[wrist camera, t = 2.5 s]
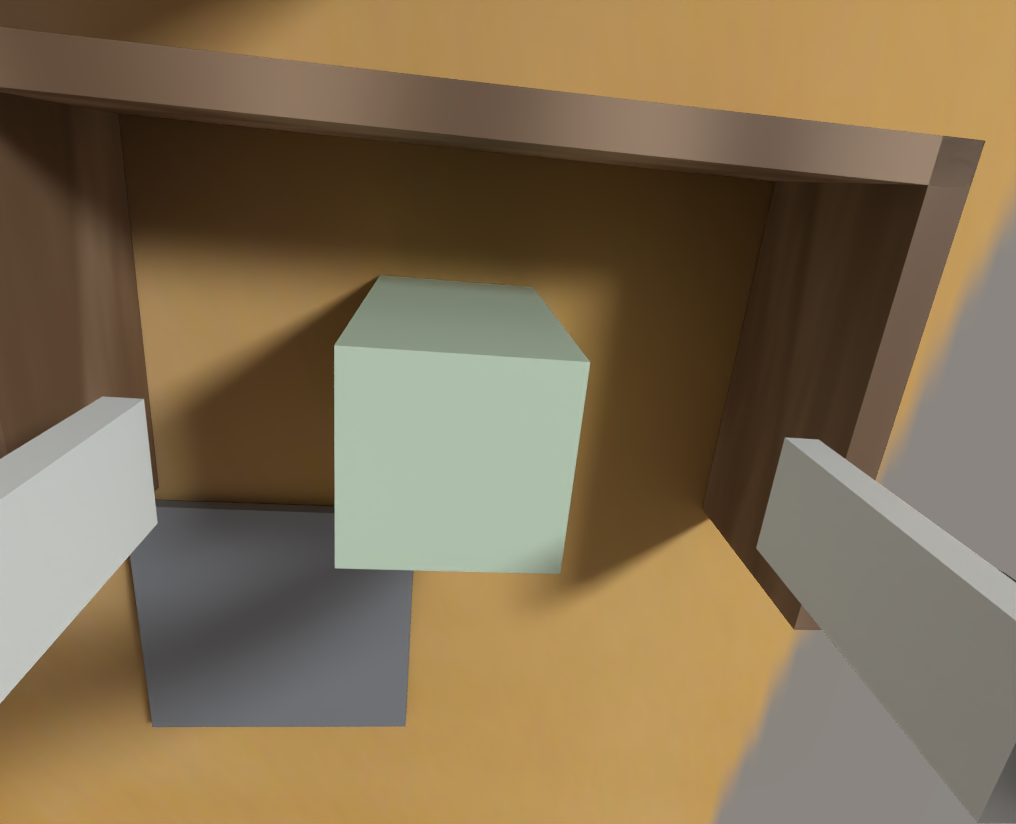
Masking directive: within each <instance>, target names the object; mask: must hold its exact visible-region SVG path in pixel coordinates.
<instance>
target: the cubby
mask: <svg viewBox="0 0 1016 824" xmlns="http://www.w3.org/2000/svg"><path fill="white" fill-rule="evenodd" d="M118 114H128V115H137V116H147V117H157V118H166V119H176V120H186V121H196V122H205V123H215V124H225V125H234V126H244V127H254V128H263V129H273V130H283V131H293V132H302V133H312V134H322V135H331V136H341V137H351V138H360V139H370V140H380V141H389V142H399V143H409V144H419V145H428V146H438V147H448V148H457V149H467V150H477V151H486V152H496V153H506V154H516V155H525V156H535V157H545V158H554V159H564V160H574V161H583V162H593V163H603V164H612V165H622V166H632V167H642V168H651V169H661V170H671V171H680V172H690V173H700V174H709V175H719V176H729V177H739V178H748V179H758V180H768V181H775V185H774V189H773V194H772V198H771V203H770V207H769V212H768V216H767V220H766V225H765V229H764V234H763V238H762V243H761V247H760V252H759V256H758V261H757V265H756V270H755V274H754V279H753V283H752V288H751V292H750V297H749V301H748V306H747V310H746V314H745V319H744V323H743V328H742V332H741V337H740V341H739V346H738V350H737V355H736V359H735V364H734V368H733V373H732V377H731V382H730V386H729V391H728V395H727V399H726V404H725V408H724V413H723V417H722V422H721V426H720V431H719V435H718V440H717V444H716V449H715V453H714V458H713V462H712V467H711V471H710V476H709V480H708V485H707V489H706V493H705V498H704V502H703V507H702V509H703V510H704V512H705V513H706V514H707V516H708V517H709V518H710V520H711V521H712V522H713V524H714V525H715V526H716V528H717V529H718V530H719V531H720V533H721V534H722V535H723V537H724V538H725V539H726V541H727V542H728V543H729V545H730V546H731V547H732V549H733V550H734V551H735V553H736V554H737V555H738V556H739V558H740V559H741V560H742V562H743V563H744V564H745V566H746V567H747V568H748V570H749V571H750V572H751V574H752V575H753V576H754V578H755V579H756V580H757V581H758V583H759V584H760V585H761V587H762V588H763V589H764V591H765V592H766V593H767V595H768V596H769V597H770V599H771V600H772V601H773V603H774V604H775V605H776V606H777V608H778V609H779V610H780V612H781V613H782V614H783V616H784V617H785V618H786V620H787V621H788V622H789V624H790V625H791V626H792V628H793V629H794V630H822V629H821V628H820V627H819V626H818V624H817V623H816V622H815V621H814V619H813V618H812V617H811V616H810V614H809V613H808V612H807V611H806V610H805V608H804V607H803V606H802V605H801V603H800V602H799V601H798V600H797V598H796V597H795V596H794V595H793V593H792V592H791V591H790V590H789V588H788V587H787V586H786V585H785V583H784V582H783V581H782V580H781V578H780V577H779V576H778V575H777V573H776V572H775V571H774V570H773V569H772V567H771V566H770V565H769V564H768V562H767V561H766V560H765V559H764V557H763V556H762V555H761V554H760V552H759V551H758V550H757V549H756V547H757V543H758V539H759V535H760V532H761V528H762V524H763V520H764V516H765V512H766V508H767V505H768V501H769V497H770V493H771V489H772V485H773V481H774V478H775V474H776V470H777V466H778V462H779V458H780V454H781V451H782V447H783V443H784V439H785V438H802V439H818V440H820V441H821V442H823V443H824V444H825V445H827V446H828V447H830V448H831V449H832V450H834V451H835V452H836V453H838V454H839V455H841V456H842V457H843V458H845V459H846V460H847V461H849V462H850V463H852V464H853V465H854V466H856V467H857V468H858V469H860V470H861V471H863V472H864V473H865V474H867V475H868V476H869V477H871V478H872V479H874V480H876V476H877V473H878V470H879V467H880V464H881V461H882V458H883V455H884V452H885V449H886V446H887V443H888V439H889V436H890V433H891V430H892V427H893V424H894V421H895V418H896V415H897V412H898V409H899V406H900V402H901V399H902V396H903V393H904V390H905V387H906V384H907V381H908V378H909V375H910V372H911V368H912V365H913V362H914V359H915V356H916V353H917V350H918V347H919V344H920V341H921V338H922V335H923V331H924V328H925V325H926V322H927V319H928V316H929V313H930V310H931V307H932V304H933V301H934V298H935V294H936V291H937V288H938V285H939V282H940V279H941V276H942V273H943V270H944V267H945V264H946V260H947V257H948V254H949V251H950V248H951V245H952V242H953V239H954V236H955V233H956V230H957V227H958V223H959V220H960V217H961V214H962V211H963V208H964V205H965V202H966V199H967V196H968V193H969V190H970V186H971V183H972V180H973V177H974V174H975V171H976V168H977V165H978V162H979V159H980V156H981V153H982V149H983V146H984V143H985V141H983V140H975V139H966V138H957V137H949V136H940V135H931V134H923V133H914V132H906V131H897V130H888V129H880V128H871V127H862V126H854V125H845V124H836V123H828V122H819V121H811V120H802V119H793V118H785V117H776V116H767V115H759V114H750V113H741V112H733V111H724V110H715V109H707V108H698V107H690V106H681V105H672V104H664V103H655V102H646V101H638V100H629V99H620V98H612V97H603V96H594V95H586V94H577V93H569V92H560V91H551V90H543V89H534V88H525V87H517V86H508V85H499V84H491V83H482V82H473V81H465V80H456V79H448V78H439V77H430V76H422V75H413V74H404V73H396V72H387V71H378V70H370V69H361V68H353V67H344V66H335V65H327V64H318V63H309V62H301V61H292V60H283V59H275V58H266V57H257V56H249V55H240V54H232V53H223V52H214V51H206V50H197V49H188V48H180V47H171V46H162V45H154V44H145V43H136V42H128V41H119V40H111V39H102V38H93V37H85V36H76V35H67V34H59V33H50V32H41V31H33V30H24V29H15V28H7V27H0V459H1V458H3V457H4V456H6V455H7V454H9V453H11V452H12V451H14V450H16V449H17V448H19V447H21V446H22V445H24V444H25V443H27V442H29V441H30V440H32V439H34V438H35V437H37V436H39V435H40V434H42V433H43V432H45V431H47V430H48V429H50V428H52V427H53V426H55V425H57V424H58V423H60V422H61V421H63V420H65V419H66V418H68V417H70V416H71V415H73V414H75V413H76V412H78V411H79V410H81V409H83V408H84V407H86V406H88V405H89V404H91V403H93V402H94V401H96V400H97V399H99V398H101V397H102V396H103V397H120V398H136V399H144V403H145V413H146V422H147V431H148V440H149V449H150V459H151V468H152V477H153V486H154V492H155V491H156V490H157V489H158V488H159V486H158V477H157V468H156V458H155V449H154V440H153V431H152V422H151V412H150V403H149V394H148V385H147V376H146V366H145V357H144V348H143V339H142V330H141V321H140V311H139V302H138V293H137V284H136V275H135V265H134V256H133V247H132V238H131V229H130V219H129V210H128V201H127V192H126V183H125V173H124V164H123V155H122V146H121V137H120V127H119V118H118Z"/></svg>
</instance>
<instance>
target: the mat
mask: <svg viewBox="0 0 1016 824" xmlns="http://www.w3.org/2000/svg"><path fill="white" fill-rule="evenodd" d="M155 505H156V514H157V525H156V526H155V527H154V528H153V529H152V530H151V531H150V533H149V534H148V535H147V536H146V537H145V538H144V539H143V541H142V542H141V543H140V544H139V545H138V546H137V547H136V549H135V550H134V551H133V552H132V553H131V554H130V560H131V568H132V575H133V583H134V590H135V598H136V606H137V613H138V621H139V628H140V636H141V644H142V651H143V659H144V666H145V674H146V682H147V689H148V697H149V704H150V712H151V720H152V727H362V726H405V724H406V708H407V687H408V666H409V645H410V624H411V603H412V582H413V570H381V569H342V568H335V506H310V505H282V504H255V503H228V502H201V501H174V500H155Z"/></svg>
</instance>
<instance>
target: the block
mask: <svg viewBox="0 0 1016 824" xmlns="http://www.w3.org/2000/svg"><path fill="white" fill-rule="evenodd" d="M589 368H590V361H589V360H588V358H587V357H586V356H585V355H584V353H583V352H582V351H581V349H580V348H579V347H578V345H577V344H576V343H575V341H574V340H573V339H572V337H571V336H570V335H569V333H568V332H567V331H566V330H565V328H564V327H563V326H562V324H561V323H560V322H559V320H558V319H557V318H556V316H555V315H554V314H553V312H552V311H551V310H550V308H549V307H548V306H547V305H546V303H545V302H544V301H543V299H542V298H541V297H540V295H539V294H538V293H537V291H536V290H535V289H534V287H528V286H515V285H502V284H490V283H477V282H464V281H452V280H439V279H426V278H414V277H401V276H388V275H380V276H379V278H378V279H377V281H376V282H375V284H374V285H373V287H372V288H371V290H370V291H369V293H368V294H367V296H366V298H365V299H364V301H363V302H362V304H361V305H360V307H359V308H358V310H357V311H356V313H355V314H354V316H353V317H352V319H351V321H350V322H349V324H348V325H347V327H346V328H345V330H344V331H343V333H342V334H341V336H340V337H339V339H338V340H337V342H336V343H335V345H334V468H335V568H342V569H381V570H420V571H459V572H499V573H538V574H560V572H561V565H562V558H563V551H564V544H565V537H566V530H567V523H568V516H569V509H570V502H571V495H572V488H573V481H574V474H575V466H576V459H577V452H578V445H579V438H580V431H581V424H582V417H583V410H584V403H585V396H586V389H587V382H588V375H589Z"/></svg>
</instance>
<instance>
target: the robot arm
mask: <svg viewBox="0 0 1016 824" xmlns="http://www.w3.org/2000/svg"><path fill="white" fill-rule="evenodd" d="M156 525H157V514H156V505H155V495H154V486H153V477H152V468H151V459H150V449H149V440H148V431H147V422H146V413H145V403H144V399H136V398H120V397H103V396H102V397H101V398H99V399H97V400H96V401H94V402H93V403H91V404H89V405H88V406H86V407H84V408H83V409H81V410H79V411H78V412H76V413H75V414H73V415H71V416H70V417H68V418H66V419H65V420H63V421H61V422H60V423H58V424H57V425H55V426H53V427H52V428H50V429H48V430H47V431H45V432H43V433H42V434H40V435H39V436H37V437H35V438H34V439H32V440H30V441H29V442H27V443H25V444H24V445H22V446H21V447H19V448H17V449H16V450H14V451H12V452H11V453H9V454H7V455H6V456H4V457H3V458H1V459H0V703H1V702H2V701H3V700H4V699H5V697H6V696H7V695H8V694H9V693H10V692H11V691H12V689H13V688H14V687H15V686H16V685H17V684H18V682H19V681H20V680H21V679H22V678H23V677H24V676H25V674H26V673H27V672H28V671H29V670H30V669H31V668H32V666H33V665H34V664H35V663H36V662H37V661H38V660H39V658H40V657H41V656H42V655H43V654H44V653H45V652H46V650H47V649H48V648H49V647H50V646H51V645H52V644H53V642H54V641H55V640H56V639H57V638H58V637H59V636H60V634H61V633H62V632H63V631H64V630H65V629H66V628H67V626H68V625H69V624H70V623H71V622H72V621H73V620H74V618H75V617H76V616H77V615H78V614H79V613H80V612H81V610H82V609H83V608H84V607H85V606H86V605H87V604H88V602H89V601H90V600H91V599H92V598H93V597H94V596H95V594H96V593H97V592H98V591H99V590H100V589H101V587H102V586H103V585H104V584H105V583H106V582H107V581H108V579H109V578H110V577H111V576H112V575H113V574H114V573H115V571H116V570H117V569H118V568H119V567H120V566H121V565H122V563H123V562H124V561H125V560H126V559H127V558H128V557H129V555H130V554H131V553H132V552H133V551H134V550H135V549H136V547H137V546H138V545H139V544H140V543H141V542H142V541H143V539H144V538H145V537H146V536H147V535H148V534H149V533H150V531H151V530H152V529H153V528H154V527H155V526H156ZM756 549H757V550H758V551H759V552H760V554H761V555H762V556H763V557H764V559H765V560H766V561H767V562H768V564H769V565H770V566H771V567H772V569H773V570H774V571H775V572H776V573H777V575H778V576H779V577H780V578H781V580H782V581H783V582H784V583H785V585H786V586H787V587H788V588H789V590H790V591H791V592H792V593H793V595H794V596H795V597H796V598H797V600H798V601H799V602H800V603H801V605H802V606H803V607H804V608H805V610H806V611H807V612H808V613H809V614H810V616H811V617H812V618H813V619H814V621H815V622H816V623H817V624H818V626H819V627H820V628H821V629H822V631H823V632H824V633H825V634H826V636H827V637H828V638H829V639H830V641H831V642H832V643H833V644H834V645H835V647H836V648H837V649H838V651H839V652H840V653H841V654H842V655H843V657H844V658H845V659H846V660H847V661H848V663H849V664H850V665H851V667H852V668H853V669H854V670H855V672H856V673H857V674H858V675H859V677H860V678H861V679H862V680H863V682H864V683H865V684H866V685H867V687H868V688H869V689H870V690H871V691H872V693H873V694H874V695H875V696H876V698H877V699H878V700H879V701H880V703H881V704H882V705H883V706H884V708H885V709H886V710H887V711H888V712H889V714H890V715H891V716H892V718H893V719H894V720H895V721H896V723H897V724H898V725H899V726H900V728H901V729H902V730H903V731H904V733H905V734H906V735H907V736H908V737H909V739H910V740H911V741H912V742H913V744H914V745H915V746H916V747H917V749H918V750H919V751H920V752H921V754H922V755H923V756H924V757H925V759H926V760H927V761H928V762H929V764H930V765H931V766H932V767H933V769H934V770H935V771H936V772H937V774H938V775H939V776H940V777H941V779H942V780H943V781H944V782H945V783H946V785H947V786H948V787H949V788H950V790H951V791H952V792H953V793H954V795H955V796H956V797H957V798H958V800H959V801H960V802H961V803H962V805H963V806H964V807H965V808H966V810H967V811H968V812H969V813H970V815H972V817H973V818H974V820H975V821H976V822H977V823H1016V581H1015V580H1014V579H1013V578H1011V577H1010V576H1008V575H1007V574H1005V573H1004V572H1002V571H1000V570H998V569H996V568H995V567H993V566H992V565H991V564H989V563H988V562H986V561H985V560H984V559H983V558H981V557H980V556H978V555H977V554H976V553H974V552H973V551H972V550H970V549H969V548H967V547H966V546H965V545H963V544H962V543H960V542H959V541H957V540H956V539H955V538H954V537H952V536H951V535H949V534H948V533H947V532H945V531H944V530H943V529H941V528H940V527H938V526H937V525H936V524H934V523H933V522H932V521H930V520H929V519H927V518H926V517H925V516H923V515H922V514H921V513H919V512H918V511H916V510H915V509H914V508H912V507H911V506H909V505H908V504H907V503H905V502H904V501H903V500H901V499H900V498H898V497H897V496H896V495H894V494H893V493H892V492H890V491H889V490H887V489H886V488H885V487H883V486H882V485H881V484H879V483H878V482H876V481H875V480H874V479H872V478H871V477H869V476H868V475H867V474H865V473H864V472H863V471H861V470H860V469H858V468H857V467H856V466H854V465H853V464H852V463H850V462H849V461H847V460H846V459H845V458H843V457H842V456H841V455H839V454H838V453H836V452H835V451H834V450H832V449H831V448H830V447H828V446H827V445H825V444H824V443H823V442H821V441H820V440H818V439H802V438H785V439H784V443H783V447H782V451H781V454H780V458H779V462H778V466H777V470H776V474H775V478H774V481H773V485H772V489H771V493H770V497H769V501H768V505H767V508H766V512H765V516H764V520H763V524H762V528H761V532H760V535H759V539H758V543H757V547H756Z"/></svg>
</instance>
